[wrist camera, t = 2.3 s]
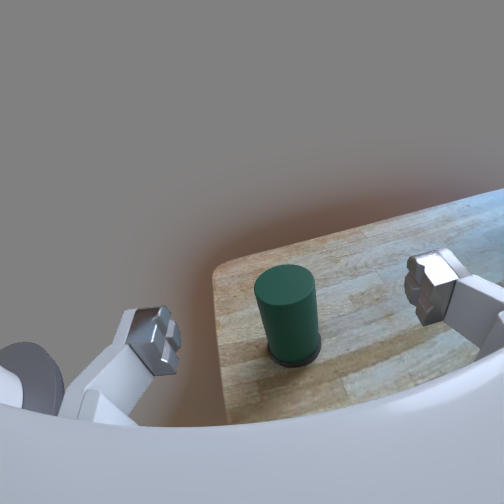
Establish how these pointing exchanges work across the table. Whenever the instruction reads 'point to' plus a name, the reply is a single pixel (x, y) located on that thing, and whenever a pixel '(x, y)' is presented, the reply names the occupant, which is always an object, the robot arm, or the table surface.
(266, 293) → the thermos cap
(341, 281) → the table surface
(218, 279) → the table surface
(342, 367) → the table surface
